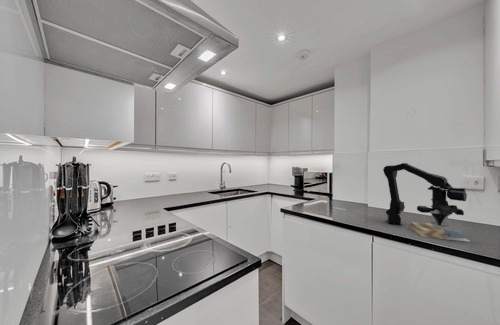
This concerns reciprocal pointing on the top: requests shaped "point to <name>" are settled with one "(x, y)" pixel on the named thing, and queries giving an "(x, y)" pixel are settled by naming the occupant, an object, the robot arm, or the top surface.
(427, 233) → the deck
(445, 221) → the medicine box
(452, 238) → the mat
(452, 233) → the tile
